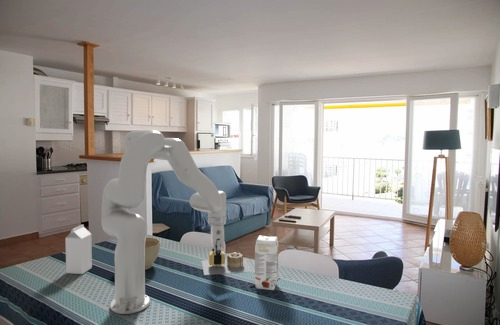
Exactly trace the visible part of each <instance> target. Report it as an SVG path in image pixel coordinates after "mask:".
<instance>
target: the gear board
mask: <svg viewBox="0 0 500 325" xmlns="http://www.w3.org/2000/svg"><path fill="white" fill-rule="evenodd" d="M233 253H234V257H237V253H238V252H233ZM201 266H202V271H203V275H204V276H212V275H213V276H214V275H224V274H225V275H226V274H240V273H251V272H253V270H252V267H251V266H250V265H249V262H248V260H247V259H246V257H243V265H242V267H239V268H230V267H229V266H227V258H225V264H223V265H222V266H213V265H209V259H207V260H201Z"/></svg>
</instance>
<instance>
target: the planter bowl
mask: <svg viewBox="0 0 500 325" xmlns="http://www.w3.org/2000/svg"><path fill="white" fill-rule="evenodd" d="M160 247H161V240H159V238H155V237H147V236H146V240H145V271H146V270H149V269H151V268H152V267H153V265H154V263H155V261H156V260H157V257H158V256H159V253H160Z"/></svg>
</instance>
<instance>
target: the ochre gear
mask: <svg viewBox="0 0 500 325" xmlns="http://www.w3.org/2000/svg"><path fill="white" fill-rule="evenodd" d="M221 254H222V264H217V265H214V255H215V253H214V251H212V250H211V251H209V252H208V260H209V265H213V266H222V265H223V264H225V259H226V253H225V251H222V250H221Z"/></svg>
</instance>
